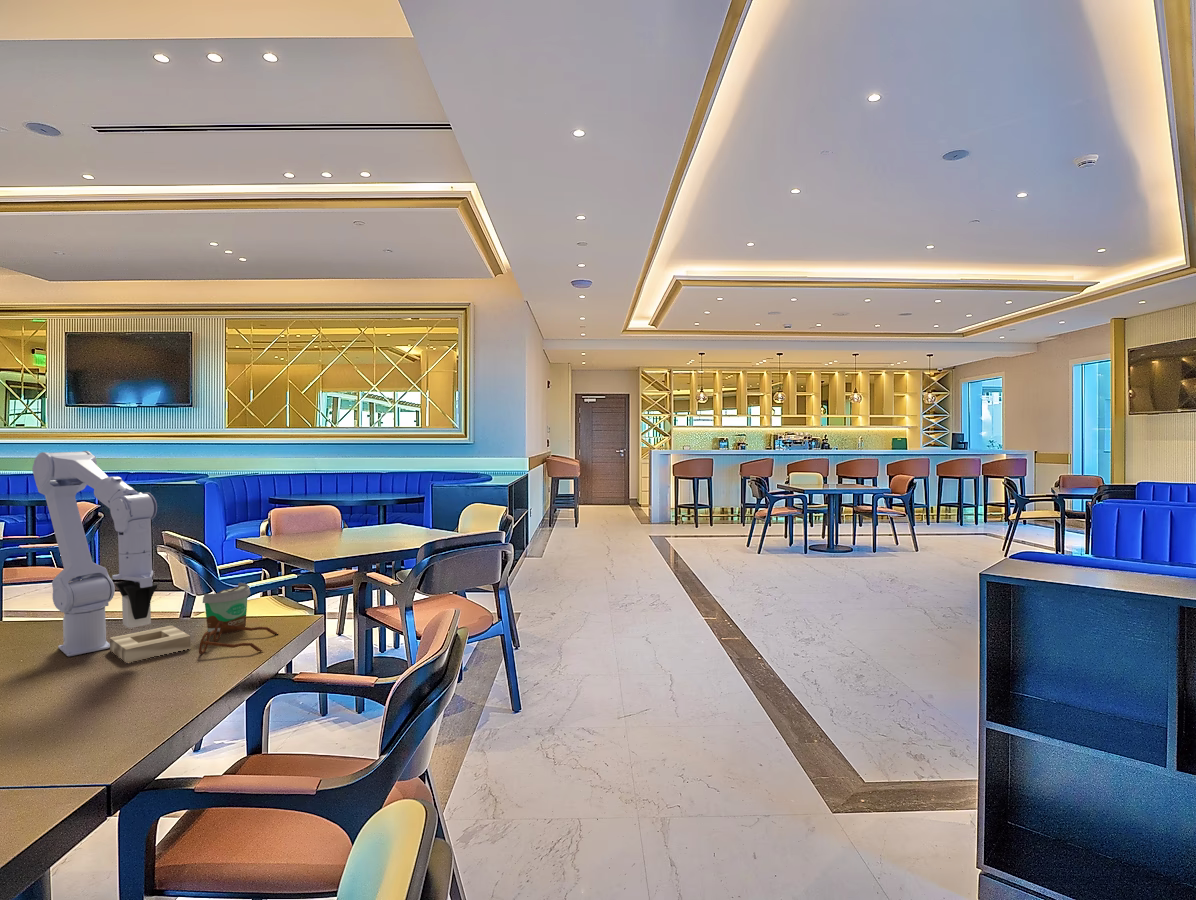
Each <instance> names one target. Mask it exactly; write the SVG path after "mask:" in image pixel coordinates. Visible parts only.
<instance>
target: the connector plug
mask: <svg viewBox="0 0 1196 900" xmlns="http://www.w3.org/2000/svg"><path fill="white" fill-rule="evenodd" d="M121 601H122V602H121V604H122V605H121V606H122V609H121V610H122V625H123V627H126V628H127V629H132V628H137V627H142V626H148V625H152V613H151V612H152V611H151V605H150V606H149V610H148V614H147V617H146V618H141V619H134V617H133V613H132V608H131V603H130V600H129V597H128V595H126V596H122V595H121Z"/></svg>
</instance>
